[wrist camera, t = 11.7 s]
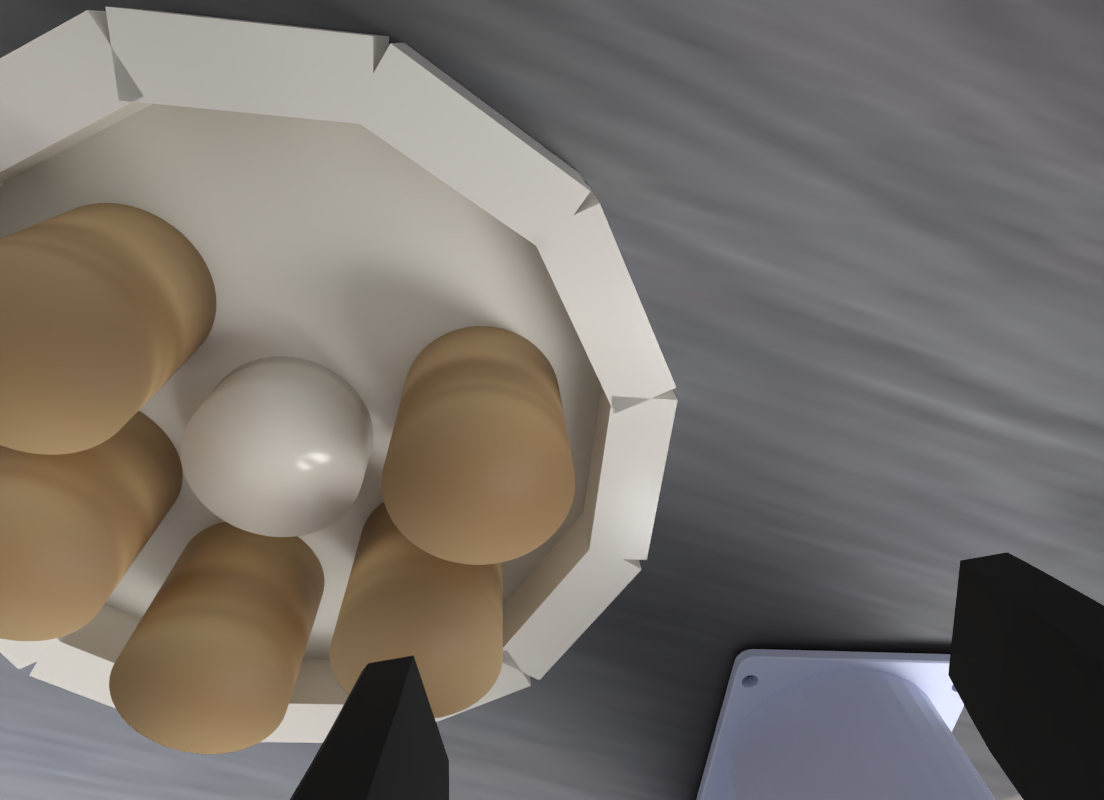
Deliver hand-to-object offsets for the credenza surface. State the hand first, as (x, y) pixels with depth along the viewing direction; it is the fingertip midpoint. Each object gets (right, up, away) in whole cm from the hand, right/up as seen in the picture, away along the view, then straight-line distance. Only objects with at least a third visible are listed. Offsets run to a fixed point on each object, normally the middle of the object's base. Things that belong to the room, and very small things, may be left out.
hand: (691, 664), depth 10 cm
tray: (-8, +3, +9) cm, 13 cm away
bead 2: (-5, 0, +10) cm, 11 cm away
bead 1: (-4, +4, +8) cm, 10 cm away
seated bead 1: (-11, +6, +7) cm, 14 cm away
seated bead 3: (-10, -1, +10) cm, 14 cm away
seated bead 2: (-13, +2, +8) cm, 16 cm away
